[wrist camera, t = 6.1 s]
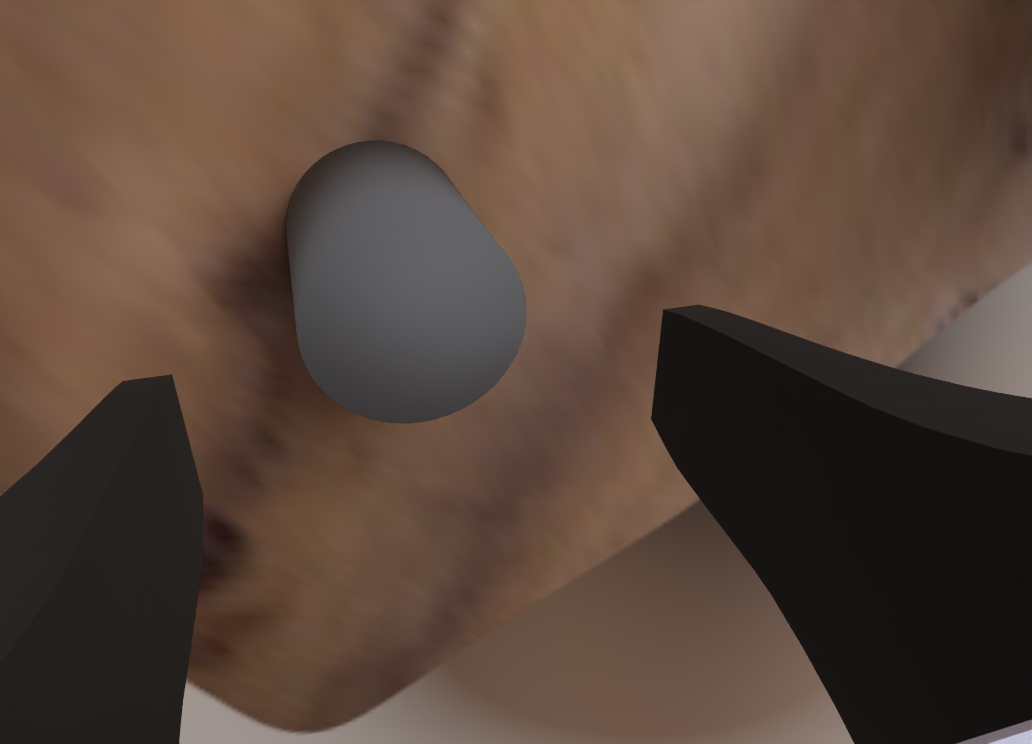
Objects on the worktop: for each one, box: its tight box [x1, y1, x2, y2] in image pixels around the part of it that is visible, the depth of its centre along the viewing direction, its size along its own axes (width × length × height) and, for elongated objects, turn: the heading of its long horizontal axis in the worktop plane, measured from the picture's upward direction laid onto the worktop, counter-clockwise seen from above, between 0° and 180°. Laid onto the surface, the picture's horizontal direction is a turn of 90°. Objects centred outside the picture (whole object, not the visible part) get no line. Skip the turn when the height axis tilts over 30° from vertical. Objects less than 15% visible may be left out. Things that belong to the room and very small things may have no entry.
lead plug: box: [286, 141, 526, 423], centre depth 15 cm, size 4×4×5 cm
